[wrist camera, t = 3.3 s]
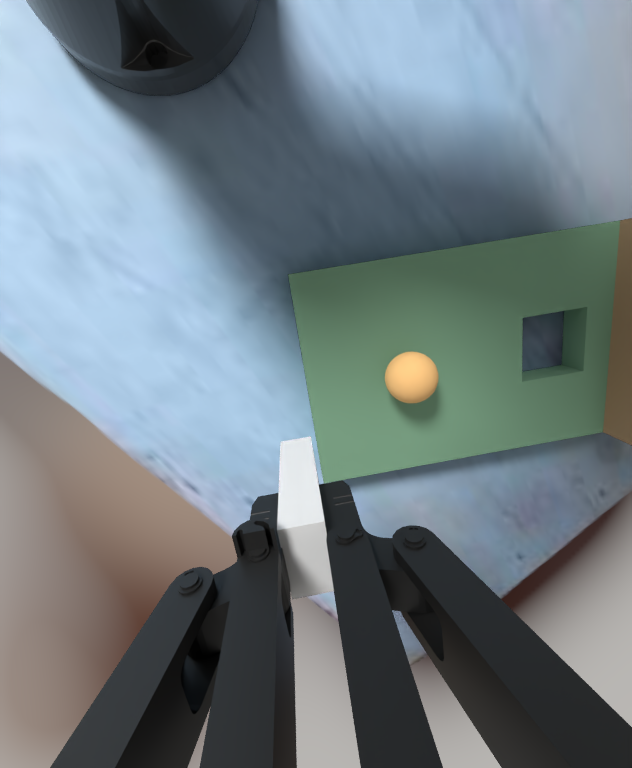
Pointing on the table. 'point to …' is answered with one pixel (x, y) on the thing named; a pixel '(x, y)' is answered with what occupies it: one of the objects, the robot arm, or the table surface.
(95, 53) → the robot arm
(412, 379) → the ball
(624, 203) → the table surface
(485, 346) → the putting board
